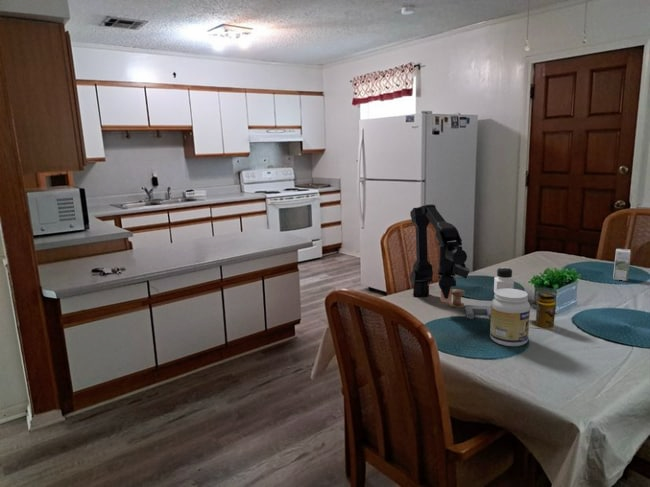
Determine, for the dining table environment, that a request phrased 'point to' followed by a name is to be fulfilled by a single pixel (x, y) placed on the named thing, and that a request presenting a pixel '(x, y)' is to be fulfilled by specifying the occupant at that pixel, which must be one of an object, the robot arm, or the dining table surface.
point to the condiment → (544, 312)
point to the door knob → (457, 298)
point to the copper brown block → (448, 296)
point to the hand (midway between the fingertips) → (446, 296)
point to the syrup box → (621, 264)
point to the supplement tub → (510, 317)
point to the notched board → (477, 310)
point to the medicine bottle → (503, 279)
